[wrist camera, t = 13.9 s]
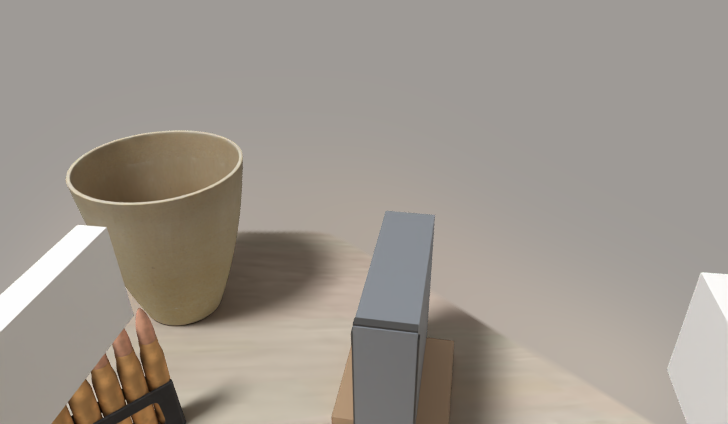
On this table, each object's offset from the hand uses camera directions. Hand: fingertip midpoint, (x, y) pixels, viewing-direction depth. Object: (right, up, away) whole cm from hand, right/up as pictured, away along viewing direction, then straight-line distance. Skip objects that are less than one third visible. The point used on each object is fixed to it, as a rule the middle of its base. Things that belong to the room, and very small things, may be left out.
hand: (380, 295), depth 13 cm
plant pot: (-19, -8, +46) cm, 50 cm away
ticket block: (+2, -14, +35) cm, 38 cm away
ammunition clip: (-19, -17, +31) cm, 40 cm away
